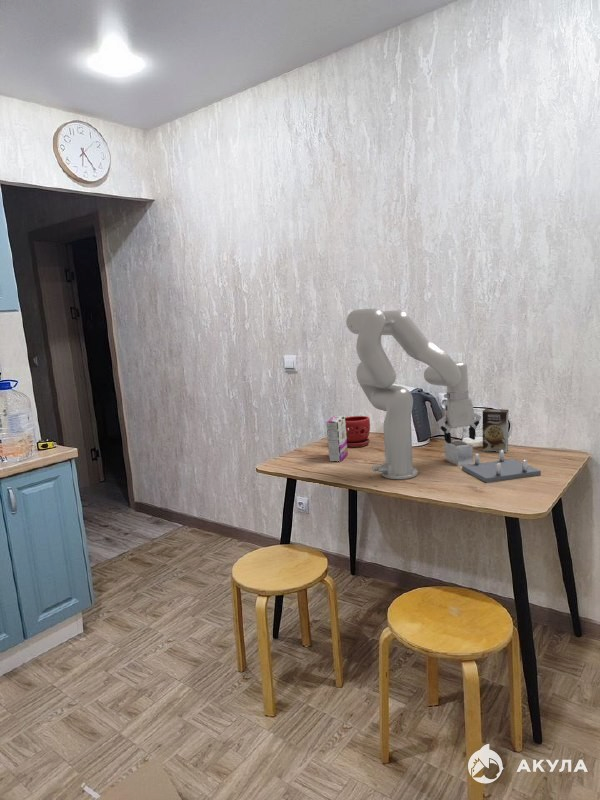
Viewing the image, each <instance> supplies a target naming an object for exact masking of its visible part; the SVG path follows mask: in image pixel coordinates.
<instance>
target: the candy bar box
mask: <svg viewBox="0 0 600 800" xmlns="http://www.w3.org/2000/svg"><path fill="white" fill-rule="evenodd" d="M345 418H346V416H345V415H333V417H331V418H330V419H328V420H327V421H326V431H327V432H326V433H327V434H326V435H327V444H328V445H327V446H328V447H327V448H328V457H329V459H328V460H329V462H330V461H337V462H336V463H341V462H342V461H343V460H344V459H345V458H346V457H347V456H348V454H349V451H348V446H347V436H346V422H345ZM338 461H339V462H338Z"/></svg>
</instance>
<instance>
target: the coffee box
mask: <svg viewBox="0 0 600 800" xmlns="http://www.w3.org/2000/svg"><path fill="white" fill-rule="evenodd" d="M509 412H510V411H509V409H503V408H502V409H501V408H498V409H497V408H496V409H495V408H484V409H483V410H482V451H483V452H488V451H496V452H495V453H499V450H504V452H506V453H507V452H508V451H507V450H509Z"/></svg>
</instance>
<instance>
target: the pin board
mask: <svg viewBox="0 0 600 800" xmlns="http://www.w3.org/2000/svg"><path fill="white" fill-rule="evenodd" d="M496 463H501V476H496ZM461 470H462V471H463V472H465V473H467V474H469V475H470V476H472V477H475V478H477V479H479V480H480V481H482V482H484V483H486V484H487V483H494V482H501V481H508V480H516V479H523V478H529V477H536V476H537V477H538V476H542V475H541V474H542V471H541V469H537V468H535V467H532V465H529V464H527V472H522V461H519V460H517V459H515V458H510V459H504V462H499V460H494V461H487V462H480V465H475V463H473V464H468V465H461Z"/></svg>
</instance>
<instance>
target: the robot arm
mask: <svg viewBox="0 0 600 800" xmlns="http://www.w3.org/2000/svg"><path fill="white" fill-rule="evenodd" d="M345 322H346V323H345V325H346V327H347V329H348V330H349V331H350V332H351V333H352V334H355V335H358V336H357V339H356V343H355V344H356V346H355V347H356V354H357V356H358V359H359V360H360V363H358V365H357V366H356V371H355V373H356V374H355V375H356V380H357V381H358V384H359V386H360V387H361V389H362V391H363V394H365V396H366V398H367V400H368V401H369V403H370V404H371V406H372V407H373V408H375V409H378V410H381V411H383V412H386V414H385V417H384V420H383V440H384V461H382V463H381V464H380V465H372V467H371V468H372V469H371V470H372V472H378V473H381V476H382V477H384V478H386V479H392V480H407V479H412V478H415V477H416V476H417V475H418V473H419V472H418V469H416V468H415V467H414V466H413V465H414V464H413V461H414V459H413V439H412V438H413V437H412V415H413V414H412V413H413V412H412V411H413V407H414V406H413V405H414V398H413V395H412V392H411V391H410V390H409V389H407V388H406V387H404V386H400V385H394V384H395V382H396V381H397V374H396V371H395V368H394V366H393V365H392V363H391V361H390V359H389V357H388V356H387V353H386V351H385V350H384V347H383V345H382V336H392V337H393V338H394V340H395V341H396V342H397V343H398V344H399V346H400V347H401V349H403V351H405V353H406V354H407V355H408V356H409V357H411V358H412V359H413V360H414V359H415V360H416V361H419V362H420V363H424V364H425V365H427V367H426V368H425V370H424V371H423V378H424V380H425V382H427V383H428V384H430V385H433V386H441V387H446V393H445V394H443V398H444V399H446V400H445V404H444V405H445V406H444V416H443V417H441V419H439V420H437V421H436V424H437V426H438V427H439V429H440V430H441V431H442V432H443V435H444V442H445V441H446V442H447V443H449V444H450V443H451V441H452V436H451V435H452V434H451V432H450V431H451V430H452V428H453V429H455V428H463V427H468V426H469V428H468V438H469V439H471V440H473V441H474V440H476V429H477V427H478V426H479V424H480V421H481V418H482V415H480V414H477V413H475V411H474V405H473V401H472V398H470V397H469V377H468V376H469V375H468V365H467V363H466V362H464V361H454V359H453V358H452V357H451V356H450V355H449V354H448V353H447V352H446V351H444V350H443V349H442V348H440V347H439V346H438V345H436V344H435V343H434V342H432V341H430V340H429V339H428V337H426V335H425V334H424V333H423V332H422V331H421V329H420V328H419V327H418V325H417V324H416V323H415V322H414V320H413V319H412V318H411V316H410V315H409V314H408V313H407V312H405V311H403V310H380V309H377V308H361V309H354V310H352V311H351V312H349V314H348V315H347V317H346V319H345ZM444 425H445V426H444Z"/></svg>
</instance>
